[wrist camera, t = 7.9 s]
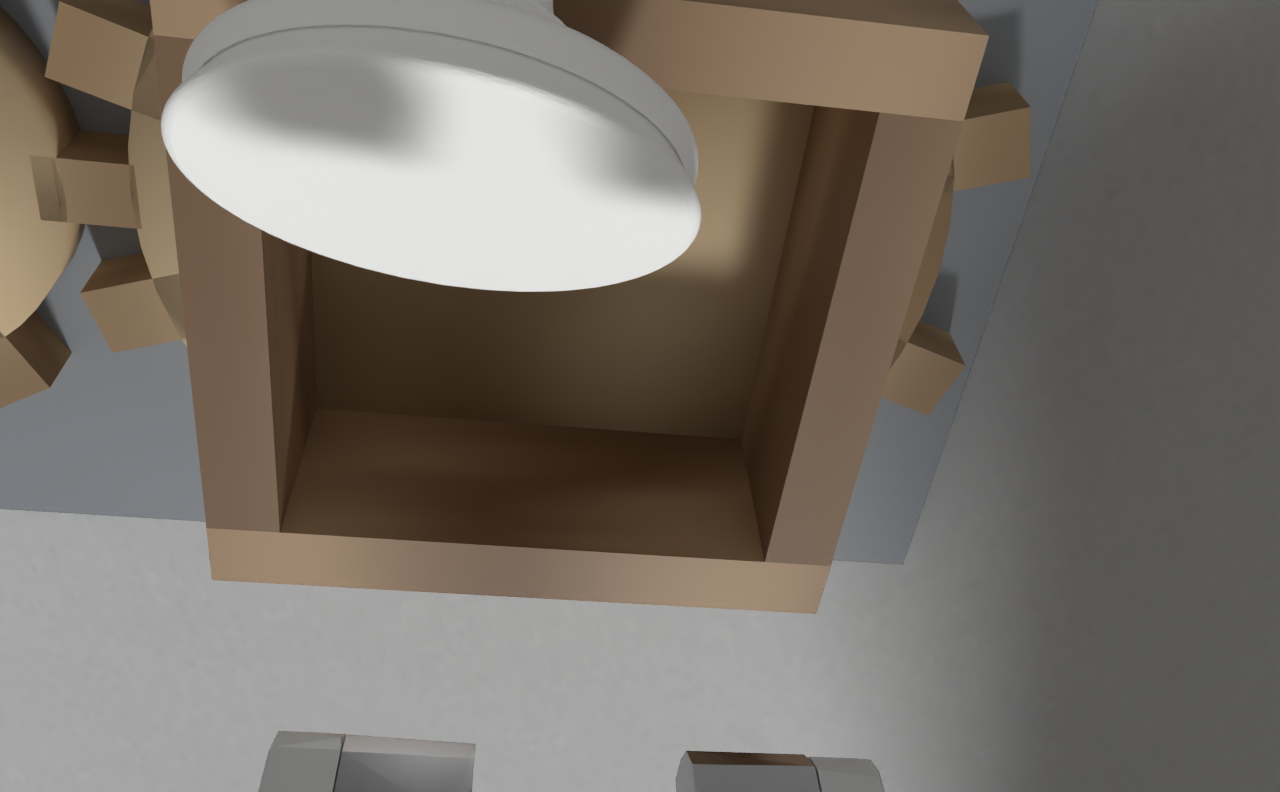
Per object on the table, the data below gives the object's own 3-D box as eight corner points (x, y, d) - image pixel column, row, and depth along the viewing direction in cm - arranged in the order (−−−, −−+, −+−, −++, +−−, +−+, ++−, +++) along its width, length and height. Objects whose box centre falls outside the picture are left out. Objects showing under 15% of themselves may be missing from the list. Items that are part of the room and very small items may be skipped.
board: (1147, -242, 16) (1178, -231, 15) (891, 530, 24) (902, 564, 23) (-660, -506, 14) (-738, -510, 13) (-278, 454, 21) (-311, 489, 21)
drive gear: (1138, -247, 15) (1296, -194, 12) (872, 566, 23) (923, 731, 20) (0, -413, 14) (-180, -406, 10) (140, 521, 22) (64, 691, 18)
